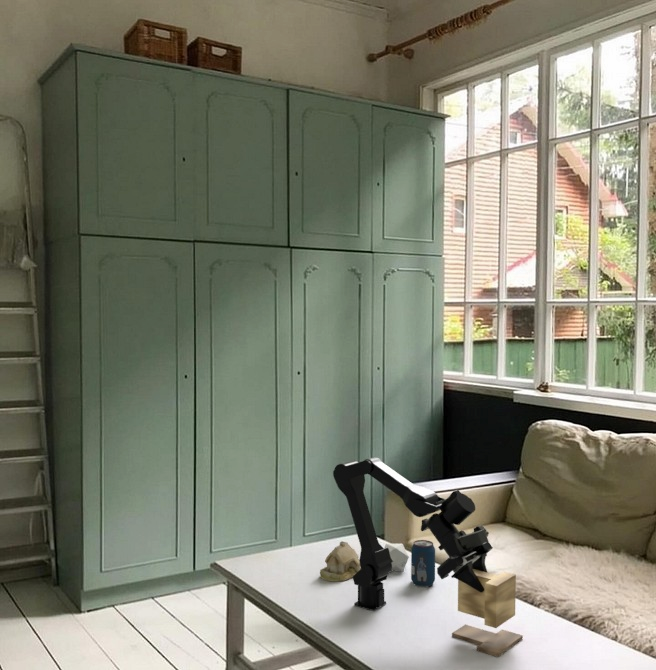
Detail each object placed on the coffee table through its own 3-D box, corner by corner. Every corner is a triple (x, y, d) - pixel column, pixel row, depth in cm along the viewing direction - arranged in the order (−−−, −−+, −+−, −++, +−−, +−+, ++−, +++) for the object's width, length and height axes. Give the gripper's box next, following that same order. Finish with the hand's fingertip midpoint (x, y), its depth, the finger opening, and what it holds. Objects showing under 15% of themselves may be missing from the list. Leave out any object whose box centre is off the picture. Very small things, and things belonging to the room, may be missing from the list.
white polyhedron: (400, 578, 231) (416, 550, 234) (375, 563, 233) (391, 535, 235) (397, 579, 239) (412, 551, 242) (373, 564, 240) (389, 537, 243)
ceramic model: (338, 564, 242) (338, 533, 242) (369, 571, 236) (369, 539, 235) (313, 578, 230) (313, 544, 230) (345, 585, 224) (345, 551, 224)
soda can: (428, 578, 230) (428, 538, 229) (439, 586, 223) (439, 545, 223) (407, 580, 228) (407, 540, 227) (417, 588, 221) (417, 547, 221)
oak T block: (451, 614, 187) (451, 574, 187) (471, 602, 195) (471, 563, 195) (496, 628, 180) (496, 585, 179) (515, 615, 187) (515, 574, 187)
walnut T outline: (445, 640, 187) (445, 637, 187) (471, 623, 197) (471, 620, 197) (498, 657, 178) (498, 653, 178) (522, 638, 188) (522, 635, 188)
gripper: (448, 525, 182) (490, 581, 175) (486, 509, 196) (526, 561, 190) (420, 551, 187) (459, 607, 181) (458, 533, 202) (496, 585, 195)
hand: (486, 589), depth 187 cm, fingers closed on oak T block, 4 cm apart
